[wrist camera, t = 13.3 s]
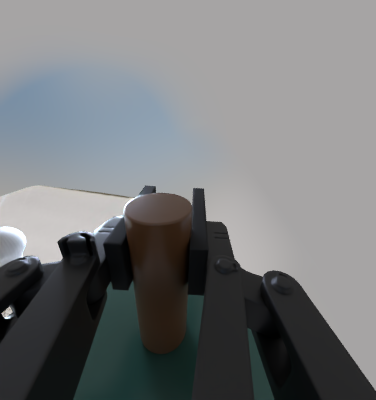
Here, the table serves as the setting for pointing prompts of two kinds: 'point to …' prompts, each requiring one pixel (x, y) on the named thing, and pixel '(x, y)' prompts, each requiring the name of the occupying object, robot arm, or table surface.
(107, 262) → the robot arm
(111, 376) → the lid
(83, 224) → the table surface
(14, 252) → the light bulb
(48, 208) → the table surface
